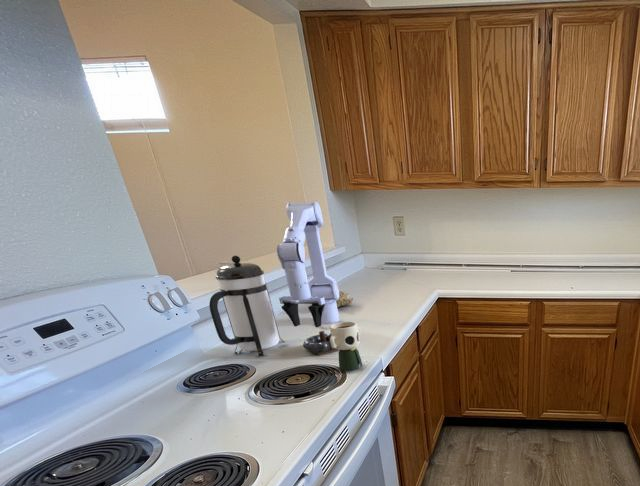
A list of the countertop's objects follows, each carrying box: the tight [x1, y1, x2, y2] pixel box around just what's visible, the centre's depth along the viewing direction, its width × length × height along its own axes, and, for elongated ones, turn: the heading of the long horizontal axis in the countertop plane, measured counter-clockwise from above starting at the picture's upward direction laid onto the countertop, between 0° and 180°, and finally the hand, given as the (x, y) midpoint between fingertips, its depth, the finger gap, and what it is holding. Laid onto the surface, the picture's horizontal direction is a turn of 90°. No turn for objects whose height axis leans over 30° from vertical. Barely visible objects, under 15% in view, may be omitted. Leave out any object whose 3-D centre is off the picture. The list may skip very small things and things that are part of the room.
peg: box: [310, 330, 339, 356], centre depth 134 cm, size 8×8×6 cm
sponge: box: [336, 290, 354, 308], centre depth 180 cm, size 13×8×20 cm
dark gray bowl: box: [302, 332, 335, 353], centre depth 134 cm, size 12×12×3 cm
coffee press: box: [209, 255, 285, 358], centre depth 129 cm, size 17×16×30 cm
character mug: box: [329, 320, 363, 372], centre depth 117 cm, size 11×7×13 cm, turn 157°
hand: (307, 326), depth 133 cm, fingers open, 7 cm apart
